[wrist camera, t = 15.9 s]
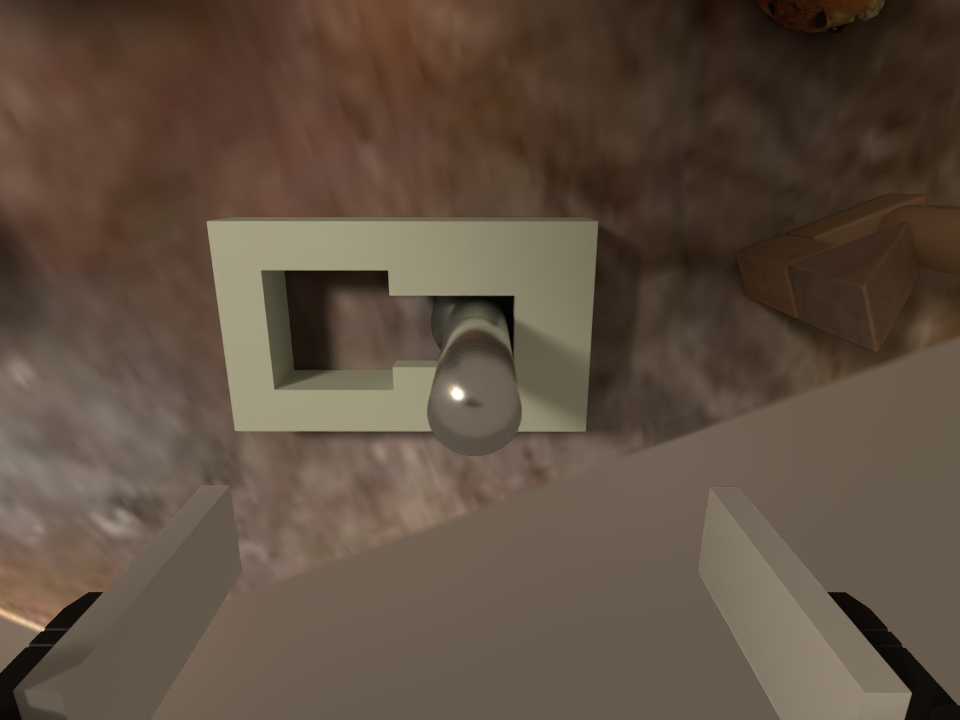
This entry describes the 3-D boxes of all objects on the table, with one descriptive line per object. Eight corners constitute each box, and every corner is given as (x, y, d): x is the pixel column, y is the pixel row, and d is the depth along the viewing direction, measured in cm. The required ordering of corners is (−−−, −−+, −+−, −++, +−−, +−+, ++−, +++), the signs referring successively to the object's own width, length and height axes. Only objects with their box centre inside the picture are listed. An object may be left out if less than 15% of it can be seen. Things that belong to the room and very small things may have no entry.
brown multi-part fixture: (732, 251, 40) (922, 302, 23) (888, 191, 39) (1213, 198, 22) (745, 299, 41) (936, 383, 24) (897, 243, 40) (1215, 288, 23)
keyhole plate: (258, 407, 43) (235, 431, 39) (235, 217, 39) (206, 221, 35) (575, 408, 43) (585, 431, 39) (586, 217, 39) (598, 221, 35)
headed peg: (434, 359, 42) (401, 480, 25) (431, 272, 40) (394, 339, 23) (520, 359, 42) (547, 480, 25) (522, 272, 40) (553, 339, 23)
